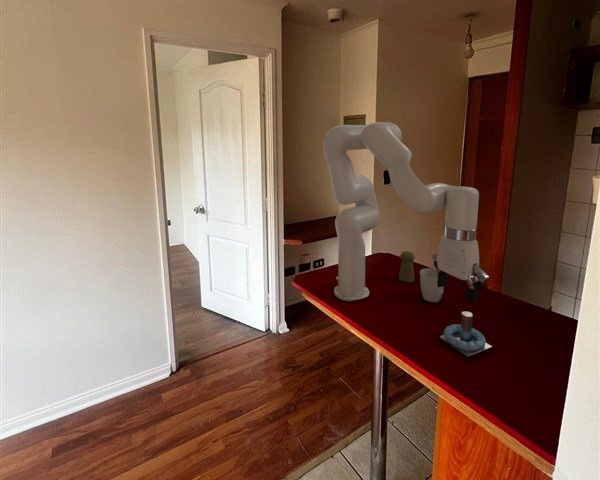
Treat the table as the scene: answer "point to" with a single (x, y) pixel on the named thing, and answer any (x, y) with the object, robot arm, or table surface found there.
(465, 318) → the post
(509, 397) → the table surface
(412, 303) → the table surface
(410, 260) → the cork
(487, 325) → the table surface
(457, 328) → the ring
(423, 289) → the cup
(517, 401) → the table surface
